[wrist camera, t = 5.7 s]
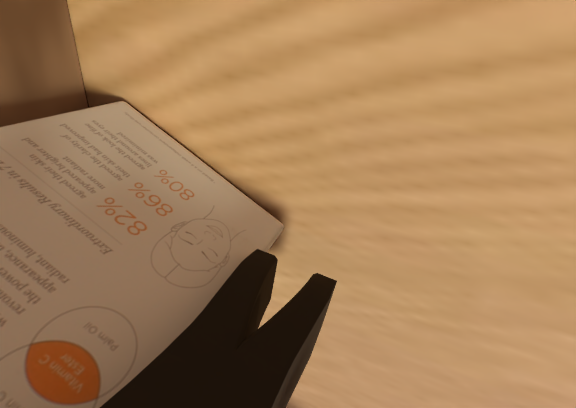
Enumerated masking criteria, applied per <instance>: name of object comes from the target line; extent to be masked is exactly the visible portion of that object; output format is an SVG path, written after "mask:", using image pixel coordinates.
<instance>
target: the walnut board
mask: <svg viewBox="0 0 576 408" xmlns="http://www.w3.org/2000/svg"><path fill="white" fill-rule="evenodd" d="M86 108H88V104H87V99H86V94H85V90H84V85H83V80H82V75H81V70H80V65H79V60H78V55H77V50H76V45H75V41H74V36H73V31H72V26H71V21H70V16H69V11H68V6H67V1H66V0H0V127H3V126H8V125H12V124H17V123H21V122H26V121H30V120H35V119H40V118H45V117H49V116H54V115H58V114H63V113H68V112H72V111H77V110H82V109H86Z"/></svg>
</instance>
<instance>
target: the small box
mask: <svg viewBox="0 0 576 408" xmlns="http://www.w3.org/2000/svg"><path fill="white" fill-rule="evenodd" d="M283 229H284V226H283V224H282V223H281V222H280V221H278V220H277V219H276V218H274V217H273V216H272V215H270V214H269V213H268V212H266V211H265V210H264V209H263V208H261V207H260V206H259V205H257V204H256V203H255V202H254V201H252V200H251V199H250V198H248V197H247V196H246V195H244V194H243V193H242V192H241V191H239V190H238V189H237V188H235V187H234V186H233V185H232V184H230V183H229V182H228V181H227V180H225V179H224V178H223V177H222V176H220V175H219V174H218V173H216V172H215V171H214V170H212V169H211V168H210V167H209V166H207V165H206V164H205V163H204V162H202V161H201V160H200V159H198V158H197V157H196V156H195V155H193V154H192V153H191V152H189V151H188V150H187V149H186V148H184V147H183V146H182V145H180V144H179V143H178V142H177V141H175V140H174V139H173V138H171V137H170V136H169V135H168V134H166V133H165V132H164V131H162V130H161V129H160V128H158V127H157V126H156V125H154V124H153V123H152V122H151V121H149V120H148V119H147V118H145V117H144V116H143V115H142V114H140V113H139V112H138V111H136V110H135V109H134V108H133V107H131V106H130V105H129V104H128V103H126V102H124V101H119V102H114V103H109V104H104V105H100V106H95V107H91V108H86V109H82V110H77V111H72V112H68V113H63V114H58V115H54V116H49V117H45V118H40V119H35V120H30V121H26V122H21V123H17V124H12V125H8V126H3V127H0V408H100V407H101V406H102V405H103V404H104V403H105V402H107V401H108V400H109V399H110V398H111V397H113V396H114V395H115V394H116V393H117V392H118V391H120V390H121V389H122V388H123V387H124V386H125V385H127V384H128V383H129V382H130V381H131V380H132V379H133V378H134V377H136V376H137V375H138V374H139V373H140V372H141V371H142V370H143V369H144V368H145V367H146V366H147V365H149V364H150V363H151V362H152V361H153V360H154V359H155V358H156V357H157V356H158V355H159V354H161V353H162V352H163V351H164V350H165V349H166V348H167V347H168V346H169V345H170V344H171V343H172V342H173V341H174V340H175V339H176V338H177V337H178V336H179V335H180V334H181V333H182V332H183V331H184V330H185V329H186V328H187V327H188V326H189V325H190V324H191V323H192V322H193V321H194V320H195V319H196V317H197V316H198V315H199V314H200V313H201V312H202V311H203V309H204V308H205V307H206V306H207V304H208V303H209V302H210V300H211V299H212V298H213V297H214V295H215V294H216V293H217V292H218V290H219V289H220V288H221V287H222V285H223V284H224V283H225V281H226V280H227V279H228V278H229V276H230V275H231V274H232V273H233V271H234V270H235V269H236V268H237V267H238V265H239V264H240V263H241V262H242V261H243V260H244V259H245V258H246V257H247V256H249V255H250V254H251V253H252V252H254V251H255V250H256V249H259V250H262V251H264V252H268V250H269V249H270V247H271V246H272V245H273V243H274V242H275V241H276V239H277V238H278V237H279V235H280V234H281V232H282V231H283Z"/></svg>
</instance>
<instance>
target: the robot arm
mask: <svg viewBox="0 0 576 408" xmlns="http://www.w3.org/2000/svg"><path fill="white" fill-rule="evenodd" d="M277 261H278V260H277V258H276V257H275V256H274V255H272V254H269V253H267V252H264V251H262V250H259V249H256V250H255V251H254V252H252V253H251V254H250V255H249V256H247V257H246V258H245V259H244V260H243V261H242V262H241V263H240V264H239V265H238V267H237V268H236V269H235V270H234V271H233V273H232V274H231V275H230V276H229V278H228V279H227V280H226V281H225V283H224V284H223V285H222V287H221V288H220V289H219V290H218V292H217V293H216V294H215V295H214V297H213V298H212V299H211V300H210V302H209V303H208V304H207V306H206V307H205V308H204V309H203V311H202V312H201V313H200V314H199V315H198V316H197V317H196V319H195V320H194V321H193V322H192V323H191V324H190V325H189V326H188V327H187V328H186V329H185V330H184V331H183V332H182V333H181V334H180V335H179V336H178V337H177V338H176V339H175V340H174V341H173V342H172V343H171V344H170V345H169V346H168V347H167V348H166V349H165V350H164V351H163V352H162V353H161V354H159V355H158V356H157V357H156V358H155V359H154V360H153V361H152V362H151V363H150V364H149V365H147V366H146V367H145V368H144V369H143V370H142V371H141V372H140V373H139V374H138V375H137V376H136V377H134V378H133V379H132V380H131V381H130V382H129V383H128V384H127V385H125V386H124V387H123V388H122V389H121V390H120V391H118V392H117V393H116V394H115V395H114V396H113V397H111V398H110V399H109V400H108V401H107V402H105V403H104V404H103V405H102V406H101V407H100V408H286V405H287V403H288V401H289V399H290V397H291V395H292V393H293V391H294V389H295V387H296V385H297V383H298V381H299V379H300V377H301V375H302V373H303V371H304V369H305V367H306V364H307V362H308V360H309V358H310V356H311V353H312V351H313V348H314V345H315V343H316V340H317V337H318V335H319V332H320V329H321V327H322V324H323V321H324V318H325V315H326V312H327V309H328V306H329V303H330V300H331V297H332V294H333V291H334V288H335V285H336V282H337V281H336V280H333V279H331V278H328V277H326V276H323V275H321V274H318V273H316V274H313V275H312V277H311V278H310V279H309V281H308V282H307V283H306V284H305V285H304V287H303V288H302V289H301V290H300V291H299V292H298V293H297V294H296V295H295V296H294V297H293V298H292V299H291V300H290V301H289V302H288V303H287V304H286V305H285V306H284V307H283V308H282V309H281V310H280V311H278V312H277V313H276V314H275V315H274V316H273V317H272V318H271V319H270V320H269V321H267V322H266V323H265V324H264V325H263V326H261V327H260V328H259V329H258V327H259V324H260V322H261V319H262V317H263V315H264V312H265V310H266V308H267V306H268V304H269V302H270V299H271V294H272V289H273V283H274V278H275V272H276V266H277Z"/></svg>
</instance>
